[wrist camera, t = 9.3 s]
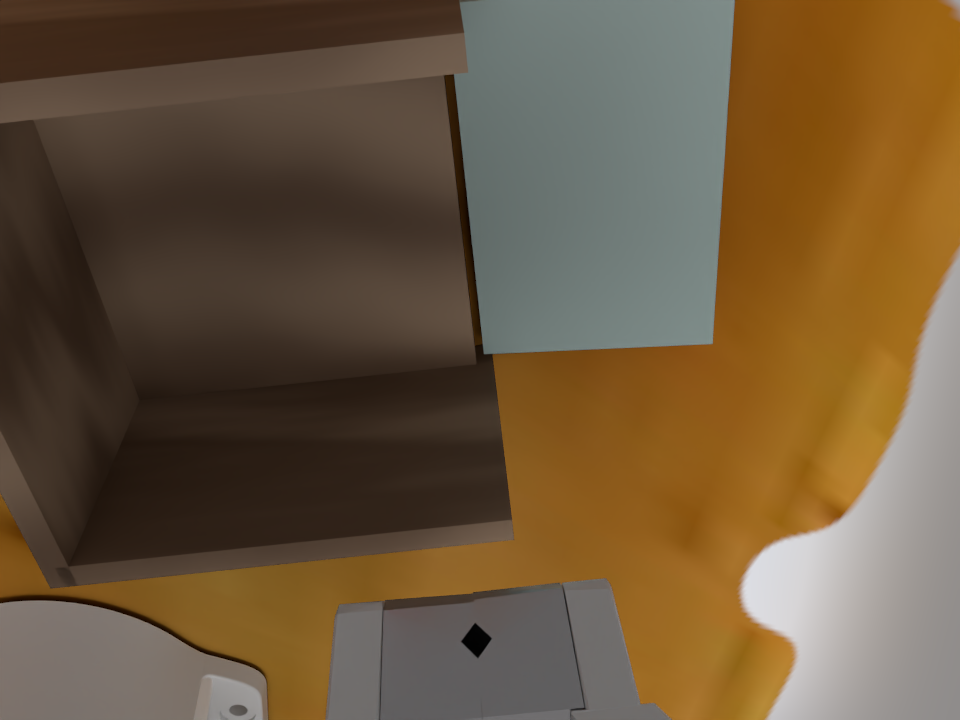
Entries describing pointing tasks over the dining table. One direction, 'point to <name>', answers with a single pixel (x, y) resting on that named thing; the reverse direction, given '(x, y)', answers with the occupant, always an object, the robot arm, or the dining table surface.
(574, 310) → the panel
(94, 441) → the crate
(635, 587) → the dining table surface
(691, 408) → the dining table surface
